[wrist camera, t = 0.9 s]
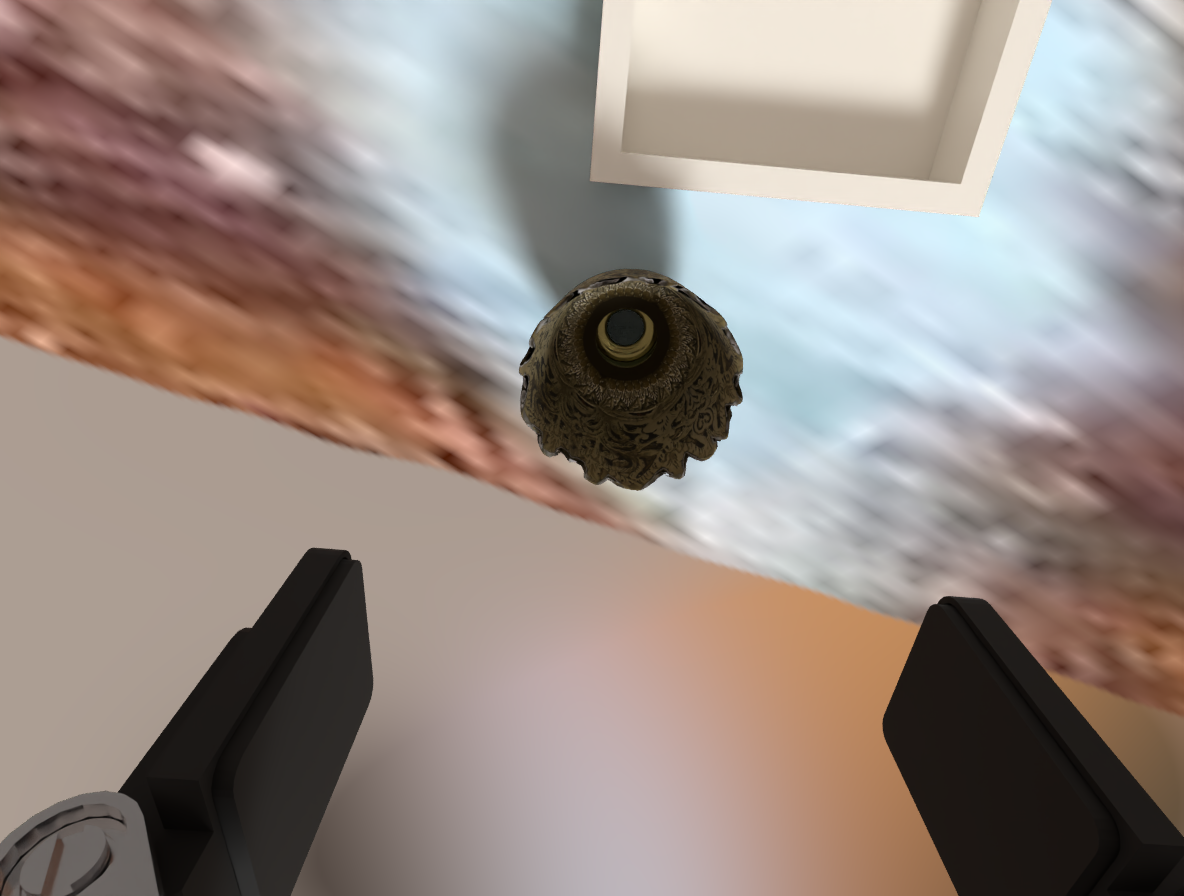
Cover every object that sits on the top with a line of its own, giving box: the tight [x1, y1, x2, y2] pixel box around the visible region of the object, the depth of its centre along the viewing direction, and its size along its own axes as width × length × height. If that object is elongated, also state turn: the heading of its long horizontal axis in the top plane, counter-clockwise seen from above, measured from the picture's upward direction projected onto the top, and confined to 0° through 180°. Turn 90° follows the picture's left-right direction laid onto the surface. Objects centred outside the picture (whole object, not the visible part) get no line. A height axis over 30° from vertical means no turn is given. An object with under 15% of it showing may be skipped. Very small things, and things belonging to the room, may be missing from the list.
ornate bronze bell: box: [519, 269, 743, 491], centre depth 24 cm, size 8×7×8 cm
